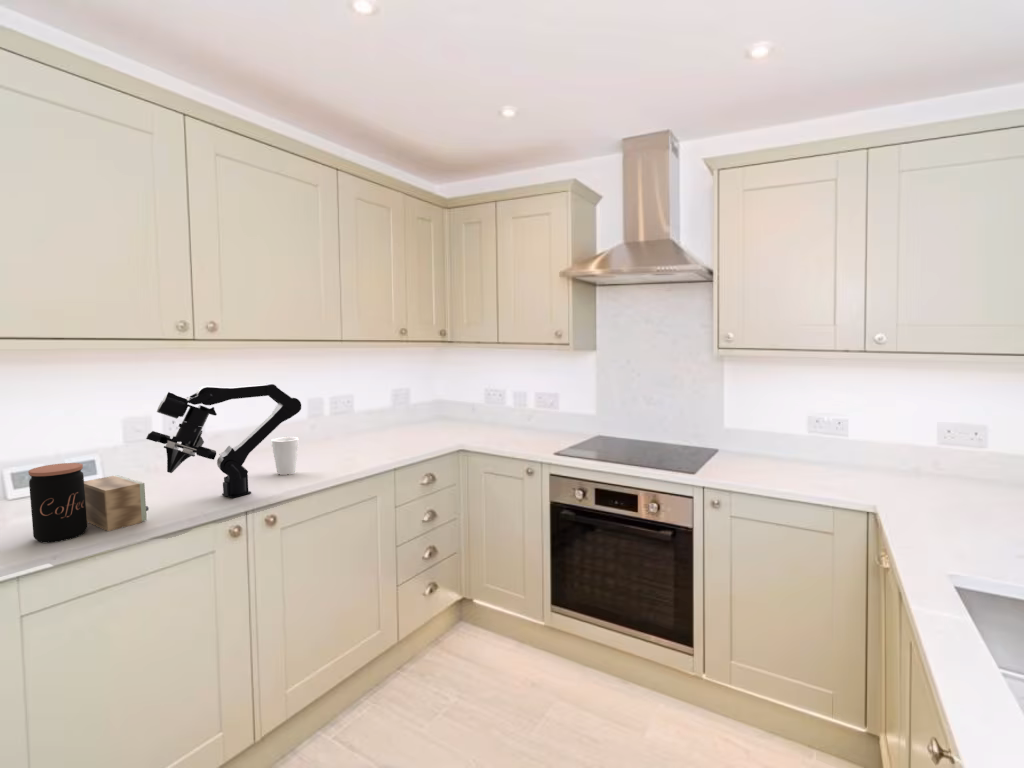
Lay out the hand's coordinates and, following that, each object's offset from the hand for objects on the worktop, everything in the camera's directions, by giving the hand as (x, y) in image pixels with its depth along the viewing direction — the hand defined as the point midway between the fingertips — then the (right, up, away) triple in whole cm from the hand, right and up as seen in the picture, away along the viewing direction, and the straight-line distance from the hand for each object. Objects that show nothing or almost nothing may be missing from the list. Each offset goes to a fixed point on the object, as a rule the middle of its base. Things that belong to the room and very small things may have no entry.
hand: (169, 472), depth 160 cm
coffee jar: (-13, -13, -23) cm, 29 cm away
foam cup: (+18, -7, +41) cm, 45 cm away
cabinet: (-8, -12, -12) cm, 19 cm away
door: (-6, -11, -8) cm, 14 cm away
